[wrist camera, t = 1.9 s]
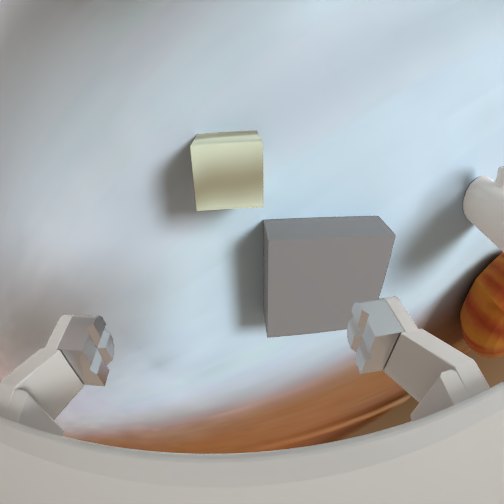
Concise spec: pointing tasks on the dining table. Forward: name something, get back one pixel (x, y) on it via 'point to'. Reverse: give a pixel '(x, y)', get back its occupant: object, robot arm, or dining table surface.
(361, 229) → the riser block
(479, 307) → the pumpkin
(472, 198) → the mug
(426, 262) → the dining table surface
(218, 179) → the cube
